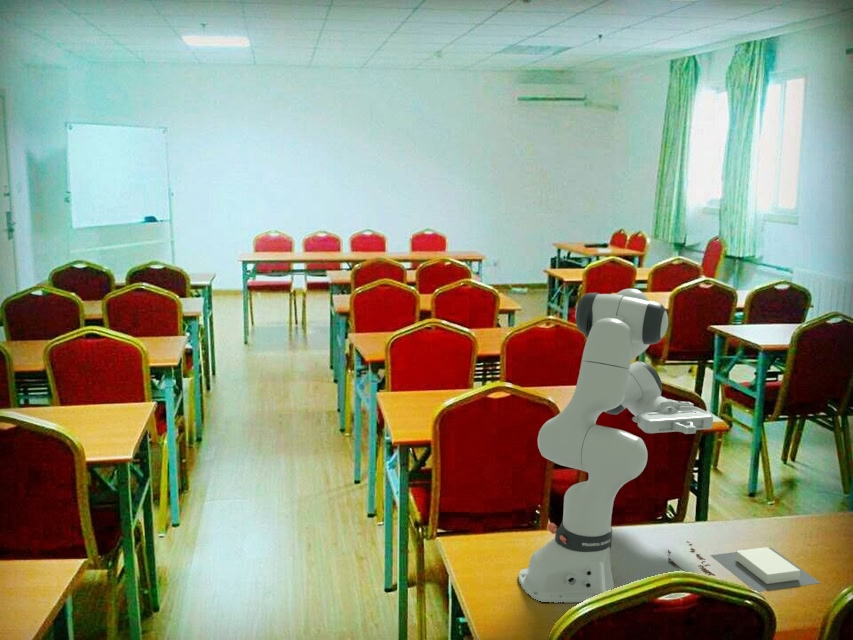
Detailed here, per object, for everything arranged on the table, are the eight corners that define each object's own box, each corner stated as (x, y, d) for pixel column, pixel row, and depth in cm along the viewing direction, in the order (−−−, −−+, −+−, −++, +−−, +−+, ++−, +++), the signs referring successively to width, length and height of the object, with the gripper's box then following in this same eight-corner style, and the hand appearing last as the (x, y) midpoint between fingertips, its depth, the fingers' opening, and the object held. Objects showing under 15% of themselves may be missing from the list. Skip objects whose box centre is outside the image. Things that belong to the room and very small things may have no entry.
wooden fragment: (726, 586, 187) (727, 581, 186) (680, 584, 187) (680, 580, 187) (692, 536, 212) (693, 532, 212) (652, 535, 212) (652, 531, 212)
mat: (755, 593, 183) (755, 591, 183) (710, 556, 200) (710, 555, 200) (820, 584, 187) (821, 582, 187) (770, 549, 204) (771, 547, 204)
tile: (735, 560, 197) (766, 585, 186) (736, 550, 197) (767, 574, 185) (766, 556, 199) (799, 580, 188) (767, 547, 199) (800, 570, 187)
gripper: (629, 406, 214) (656, 421, 201) (696, 401, 219) (726, 416, 206) (628, 428, 216) (654, 445, 203) (694, 423, 221) (724, 439, 208)
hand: (691, 430), depth 204 cm, fingers closed
